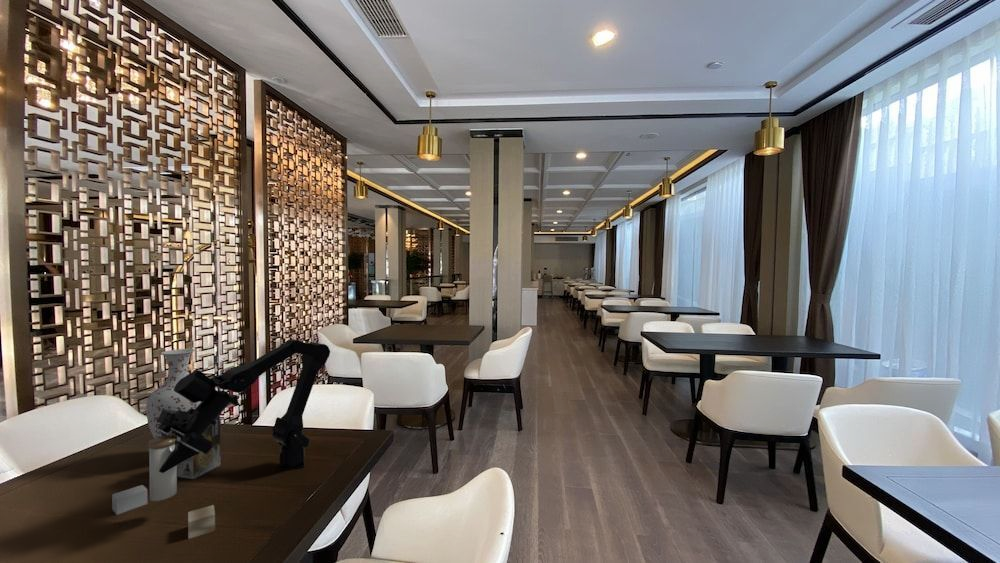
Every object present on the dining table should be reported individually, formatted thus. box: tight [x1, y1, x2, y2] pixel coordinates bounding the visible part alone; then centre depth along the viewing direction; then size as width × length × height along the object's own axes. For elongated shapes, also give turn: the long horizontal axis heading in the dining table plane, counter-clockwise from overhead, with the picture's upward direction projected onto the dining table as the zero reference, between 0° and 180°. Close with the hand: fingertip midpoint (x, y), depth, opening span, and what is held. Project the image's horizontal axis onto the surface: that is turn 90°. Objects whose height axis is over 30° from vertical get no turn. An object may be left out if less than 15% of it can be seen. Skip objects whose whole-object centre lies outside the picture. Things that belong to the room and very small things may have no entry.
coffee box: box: [177, 415, 222, 480], centre depth 124 cm, size 9×6×16 cm
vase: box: [145, 348, 201, 439], centre depth 134 cm, size 16×16×35 cm
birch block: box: [187, 504, 216, 540], centre depth 96 cm, size 5×5×4 cm
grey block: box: [111, 484, 148, 515], centre depth 105 cm, size 6×4×4 cm, turn 146°
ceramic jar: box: [148, 435, 178, 502], centre depth 100 cm, size 5×5×14 cm
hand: (156, 469), depth 99 cm, fingers closed on ceramic jar, 5 cm apart
